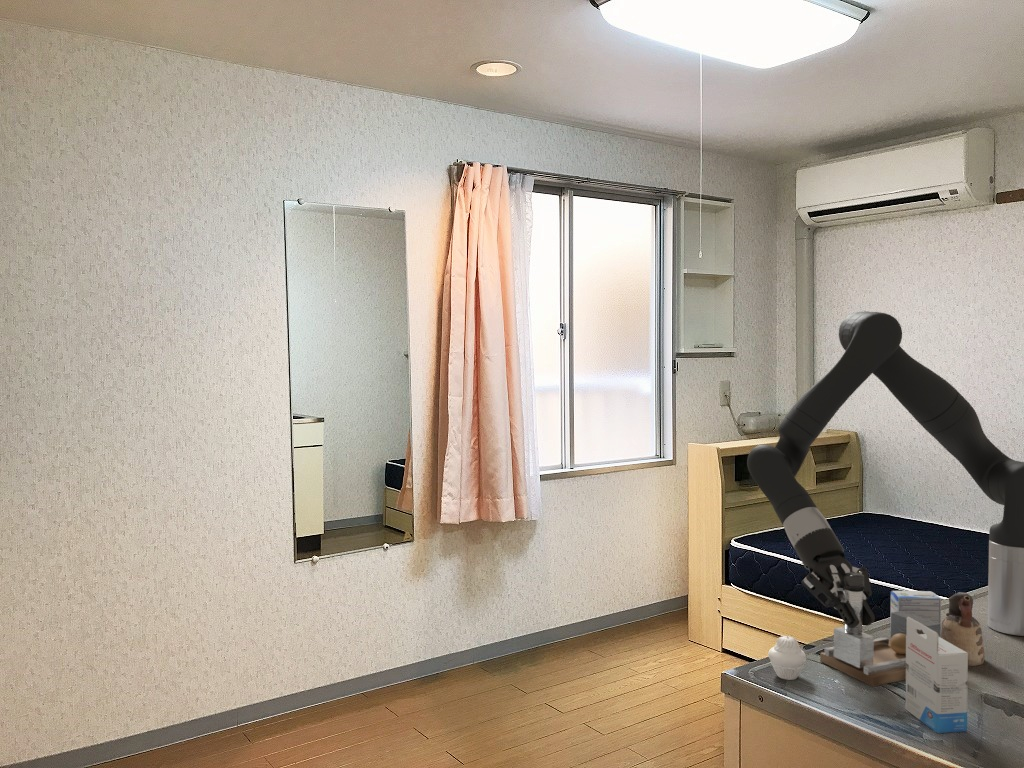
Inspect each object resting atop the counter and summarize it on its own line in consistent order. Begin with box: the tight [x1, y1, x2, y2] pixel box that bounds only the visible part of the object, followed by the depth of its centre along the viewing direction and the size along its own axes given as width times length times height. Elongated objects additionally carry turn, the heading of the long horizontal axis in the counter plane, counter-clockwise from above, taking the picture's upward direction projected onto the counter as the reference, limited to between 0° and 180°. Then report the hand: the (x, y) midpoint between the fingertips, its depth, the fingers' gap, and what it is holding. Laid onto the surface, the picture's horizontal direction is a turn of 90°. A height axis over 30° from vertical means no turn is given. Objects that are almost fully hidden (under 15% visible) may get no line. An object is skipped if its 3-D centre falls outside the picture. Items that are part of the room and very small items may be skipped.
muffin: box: [767, 635, 807, 681], centre depth 141 cm, size 6×6×7 cm
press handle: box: [833, 572, 875, 668], centre depth 143 cm, size 3×6×15 cm, turn 22°
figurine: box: [941, 591, 985, 667], centre depth 149 cm, size 7×7×12 cm
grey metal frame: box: [824, 611, 942, 675], centre depth 146 cm, size 18×10×6 cm, turn 112°
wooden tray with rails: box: [819, 633, 906, 687], centre depth 146 cm, size 18×12×5 cm, turn 112°
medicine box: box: [889, 590, 942, 638], centre depth 159 cm, size 8×4×9 cm, turn 84°
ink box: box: [905, 617, 969, 734], centre depth 124 cm, size 9×5×15 cm, turn 5°
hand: (862, 624), depth 141 cm, fingers closed on press handle, 3 cm apart
